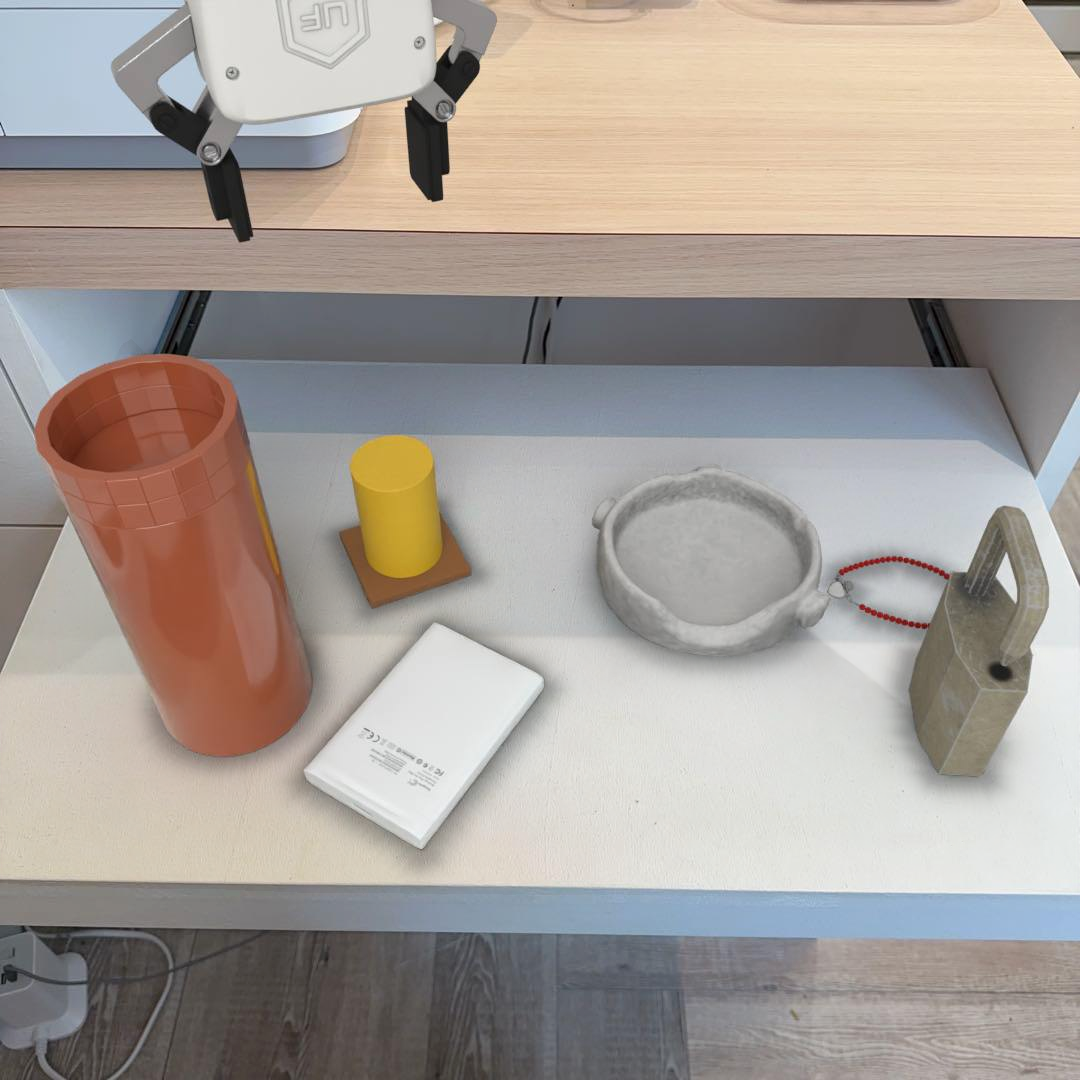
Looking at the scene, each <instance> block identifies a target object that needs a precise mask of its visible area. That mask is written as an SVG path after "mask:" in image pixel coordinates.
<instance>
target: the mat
mask: <svg viewBox="0 0 1080 1080" xmlns="http://www.w3.org/2000/svg"><path fill="white" fill-rule="evenodd" d="M439 515H440V525H441V534H442V544H443V550H442V554H441V556H440V558H439V560H438V561H437V563H436V564H435V565H434V566H433V567H432V568H431V569H429V570H428V571H426V572H424V573H422V574H420V575H417V576H413V577H408V578H393V577H388V576H385V575H382V574H380V573H379V572H377V571H376V570H374V569H373V568H372V567H371V566H370V564H369V563H368V561H367V558H366V554H365V549H364V543H363V538H362V532H361V527H360V525H357V526H353V527H350V528H347V529H344V530H341V531H338V534H339V539H340V542H341V543H342V545H343V548H344V550H345V552H346V555H347V557H348V559H349V561H350V563H351V566H352V567H353V571H354V572H355V575H356V577H357V579H358V581H359V584H360V586H361V588H362V590H363V592H364V594H365V597H366V599H367V601H368V604H369V606H370V608H371V609H374V608H377V607H379V606H382V605H385V604H386V605H387V604H389V603H392V602H395V601H397V600H398V601H399V600H400V599H404V598H406V597H407V598H408V597H410V596H412V595H416V594H418V593H422V592H424V591H428V590H430V589H434V588H436V587H440V586H443V585H446V584H449V583H451V582H454V581H457V580H461V579H463V578H467V577H469V576H472V568H471V566H470V564H469V563H468V561H467V559H466V557H465V555H464V554H463V552H462V550H461V548H460V546H459V545H458V543H457V541H456V539H455V536H454V535H453V534H452V532H451V530H450V528H449V526H448V524H447V522H446V520H445V518H444V517H443V515H442V513H441V511H439Z"/></svg>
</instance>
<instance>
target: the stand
mask: <svg viewBox="0 0 1080 1080" xmlns="http://www.w3.org/2000/svg"><path fill="white" fill-rule="evenodd" d="M33 435H34V441H35V445H36V450H37V454H38V455H39V457H40V459H41V461H42V464H43V466H44V468H45V470H46V473H47V474H48V477H49V479H50V482H51V483H52V486H53V488H54V489H55V492H56V495H57V496H58V498H59V500H60V501H61V502H62V505H63V507H64V509H65V510H66V513H67V516H68V518H69V520H70V522H71V524H72V526H73V528H74V531H75V533H76V535H77V538H78V539H79V541H80V544H81V546H82V548H83V550H84V553H85V555H86V557H87V559H88V561H89V564H90V565H91V568H92V570H93V573H94V574H95V577H96V578H97V581H98V583H99V585H100V587H101V589H102V591H103V594H104V595H105V596H104V597H106V600H107V602H108V605H109V607H110V609H111V612H112V613H113V615H114V618H115V620H116V622H117V624H118V626H119V629H120V631H121V633H122V635H123V637H124V639H125V641H126V644H127V646H128V649H129V650H130V652H131V655H132V657H133V659H134V660H135V663H136V666H137V668H138V670H139V672H140V674H141V677H142V678H143V681H144V683H145V685H146V687H147V689H148V693H149V694H150V696H151V698H152V700H153V702H154V704H155V707H156V709H157V712H158V714H159V715H160V717H161V720H162V722H163V724H164V726H165V728H166V730H167V732H168V733H169V735H170V736H172V738H173V739H174V740H175V741H176V742H177V743H178V744H179V745H181V746H183V747H184V748H186V749H187V750H190V751H193V752H195V753H197V754H201V755H205V756H209V757H210V756H211V757H236V756H240V755H245V754H248V753H249V754H250V753H252V752H255V751H258V750H260V749H263V748H265V747H267V746H269V745H271V744H272V743H274V742H276V741H278V740H279V739H281V738H282V737H283V736H284V735H285V734H286V733H288V732H289V731H291V729H292V728H293V727H295V725H296V724H297V723H298V721H299V720H300V718H301V717H302V716H303V714H304V712H305V710H306V709H307V707H308V704H309V702H310V699H311V695H312V690H313V678H312V672H311V669H310V664H309V661H308V657H307V653H306V650H305V645H304V642H303V639H302V638H303V637H302V635H301V631H300V626H299V623H298V620H297V615H296V611H295V609H294V604H293V602H292V601H293V600H292V597H291V594H290V590H289V586H288V583H287V579H286V575H285V571H284V568H283V567H284V566H283V564H282V560H281V557H280V553H279V549H278V545H277V542H276V538H275V534H274V531H273V527H272V523H271V518H270V516H269V515H270V514H269V513H268V512H269V511H268V508H267V504H266V501H265V497H264V493H263V489H262V486H261V485H262V484H261V482H260V478H259V474H258V471H257V467H256V463H255V460H254V459H255V458H254V455H253V452H252V448H251V441H250V437H249V433H248V430H247V426H246V423H245V418H244V414H243V412H242V407H241V403H240V400H239V396H238V394H237V391H236V389H235V387H234V384H233V382H232V380H231V378H230V377H228V376H227V375H226V374H225V373H224V372H223V371H221V370H220V368H218V367H216V366H215V365H214V364H211V363H209V362H206V361H203V360H201V359H198V358H196V357H193V356H188V355H180V354H171V353H158V354H156V353H155V354H141V355H136V356H135V355H134V356H129V357H126V358H122V359H118V360H114V361H110V362H107V363H103V364H101V365H98V366H96V367H94V368H92V369H90V370H88V371H85V372H83V373H81V374H79V375H78V376H76V377H75V378H73V379H72V380H70V381H69V382H68V383H66V384H65V385H64V386H61V388H59V389H58V390H56V392H54V394H52V396H51V397H50V398H49V400H48V401H47V402H46V403H45V404H44V406H43V407H42V408H41V410H40V411H39V414H38V416H37V420H36V423H35V426H34V428H33Z"/></svg>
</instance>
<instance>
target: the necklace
mask: <svg viewBox="0 0 1080 1080" xmlns="http://www.w3.org/2000/svg"><path fill="white" fill-rule="evenodd" d="M890 562H893V563H896V562H897V563H904V564H909V565H911V566H916V567H918V568H920V567H921V569H923V570H926V569H927V571H929V572H933V573H934V574H938V576H940V577H943V579H944V580H946V581H948V578H949V576H950V573H948V572H947V573H946V571H945V570H944V569H940V568H939V567H937V566H935V565H933V564H928V563H927V562H922V561H920V560H916V559H915V558H911V559H910V557H903V556H902V555H901V556H896V555H893V556H890V555H887V556H886V557H885V556H881V557H876V558H870V559H869V560H866V559H865V560H864V561H859V562H858V563H857V562H856V563H855V562H854V564H849V565H848V566H845V567H843V568H840V569H839V570H838V572H837V574H836V575H835V576H834V577H833V579H834V580H835V581H833V582H832V583H831V584H829V586H828V588H827V595H829V596H830V597H832V598H834V599H838V600H841V599H843V598H846V600H847V601H848V602H849V603H851V604H854V605H855V606H857V607H858V609H859V610H860V611H864V613H866V614H870V616H872V617H876V618H878V619H883V620H884V621H889V622H890V623H895V624H896V625H901V626H904V627H907V626H908V627H909V628H915V629H916V630H917V629H922V630H926V629H927V630H928V628H929V625H930V623H931V622H928V623H926V622H922V623H921V622H919V621H917V622H914V621H913V620H907V619H902V618H901V617H896V616H894V615H889V614H888V613H883V612H881V611H877V610H876V609H872V608H871V607H869V606H866V605H865V604H864V603H857V602H855V601H854V600H852V599H853V598H852V595H850V594H849V592H852V590H853V589H854V587H855V585H854V583H853V582H852V581H850V580H844V579H842V578H841V577H840V576H844V575H845V574H848V573H849V572H853V571H854V570H858V569H862V568H864V567H868V566H874V565H875V564H876V565H879V564H884V563H890ZM846 594H847V595H846ZM848 598H849V599H848Z"/></svg>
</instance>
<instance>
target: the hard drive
mask: <svg viewBox="0 0 1080 1080" xmlns="http://www.w3.org/2000/svg"><path fill="white" fill-rule="evenodd" d="M544 688H545V679H544V677H543V676H542V675H540V674H539V673H537V672H535V671H534V670H532V669H530V668H528V667H526V666H524V665H522V664H519V663H518V662H516V661H515V660H512V659H510V658H509V657H506V656H504V655H503V654H500V653H498V652H496V651H494V650H492V649H490V648H489V647H486V646H485V645H482V644H481V643H479V642H477V641H475V640H473V639H471V638H469V637H466V636H465V635H463V634H461V633H458V632H457V631H455V630H453V629H451V628H449V627H447V626H445V625H443V624H441V623H438V622H432V624H430V625H429V627H428V628H427V629H426V630H425V632H424V633H423V634H422V635H421V636H420V637H419V638H418V640H417V641H416V642H414V644H413V645H412V646H411V647H410V649H409V650H408V651H407V652H405V655H403V657H402V658H401V659H400V660H399V661H398V662H397V663H396V664H395V666H394V667H393V668H392V669H391V670H390V671H389V672H388V674H387V675H386V676H385V677H384V678H383V679H382V680H381V682H380V683H379V684H378V685H377V686H376V687H375V688H374V690H373V691H372V692H371V693H370V694H368V696H367V697H366V698H365V700H363V702H362V703H361V704H360V705H359V706H358V707H357V708H356V710H354V712H353V713H352V714H351V716H349V718H348V719H347V720H346V721H345V722H344V724H342V726H341V727H340V728H339V729H338V730H337V732H336V733H334V735H333V736H332V737H331V738H330V739H329V740H328V741H327V743H326V744H325V745H324V746H323V748H321V750H320V751H319V752H318V753H317V754H316V755H315V757H313V758H312V760H311V761H310V762H309V763H308V764H307V766H306V767H304V769H303V774H304V776H305V780H306V781H307V782H308V783H309V784H311V785H312V786H314V787H315V788H317V789H318V790H320V791H321V792H323V793H325V794H327V795H328V796H330V797H331V798H333V799H335V800H337V801H338V802H340V803H342V804H343V805H345V806H346V807H348V808H350V810H351V809H352V811H354V812H356V813H357V814H360V815H361V816H363V817H365V818H367V819H368V820H369V821H371V822H373V823H374V824H375V825H376V824H377V825H378V826H379V827H380V828H383V829H385V830H386V831H388V832H390V833H391V834H393V835H395V836H396V837H398V838H400V839H401V840H402V841H405V842H406V843H408V844H409V845H411V846H413V847H414V848H417V849H420V850H424V848H425V847H426V845H427V844H428V843H429V841H430V840H431V839H432V837H433V836H434V834H435V833H436V832H437V831H438V829H439V828H440V827H441V826H442V824H443V823H444V822H445V820H446V819H447V818H448V816H449V815H450V814H451V812H452V811H453V810H454V809H455V807H456V806H457V805H458V803H459V802H460V800H461V799H462V798H463V797H464V795H465V794H466V793H467V791H468V790H469V788H470V787H471V786H472V785H473V784H474V782H475V781H476V780H477V778H478V777H479V775H480V774H481V773H482V772H483V770H484V769H485V768H486V766H488V765H487V764H488V763H489V762H490V761H491V760H492V758H493V757H494V755H495V754H496V753H497V751H498V750H499V749H500V747H502V745H503V743H504V742H505V741H506V739H507V738H508V736H510V734H511V733H512V732H513V730H514V729H515V727H516V726H517V725H518V723H519V722H520V721H521V720H522V718H523V717H524V716H525V714H526V713H527V711H528V710H529V709H530V707H531V706H532V705H533V704H534V702H535V701H536V700H537V698H538V697H539V696H540V694H541V693H542V692H543V690H544Z"/></svg>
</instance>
